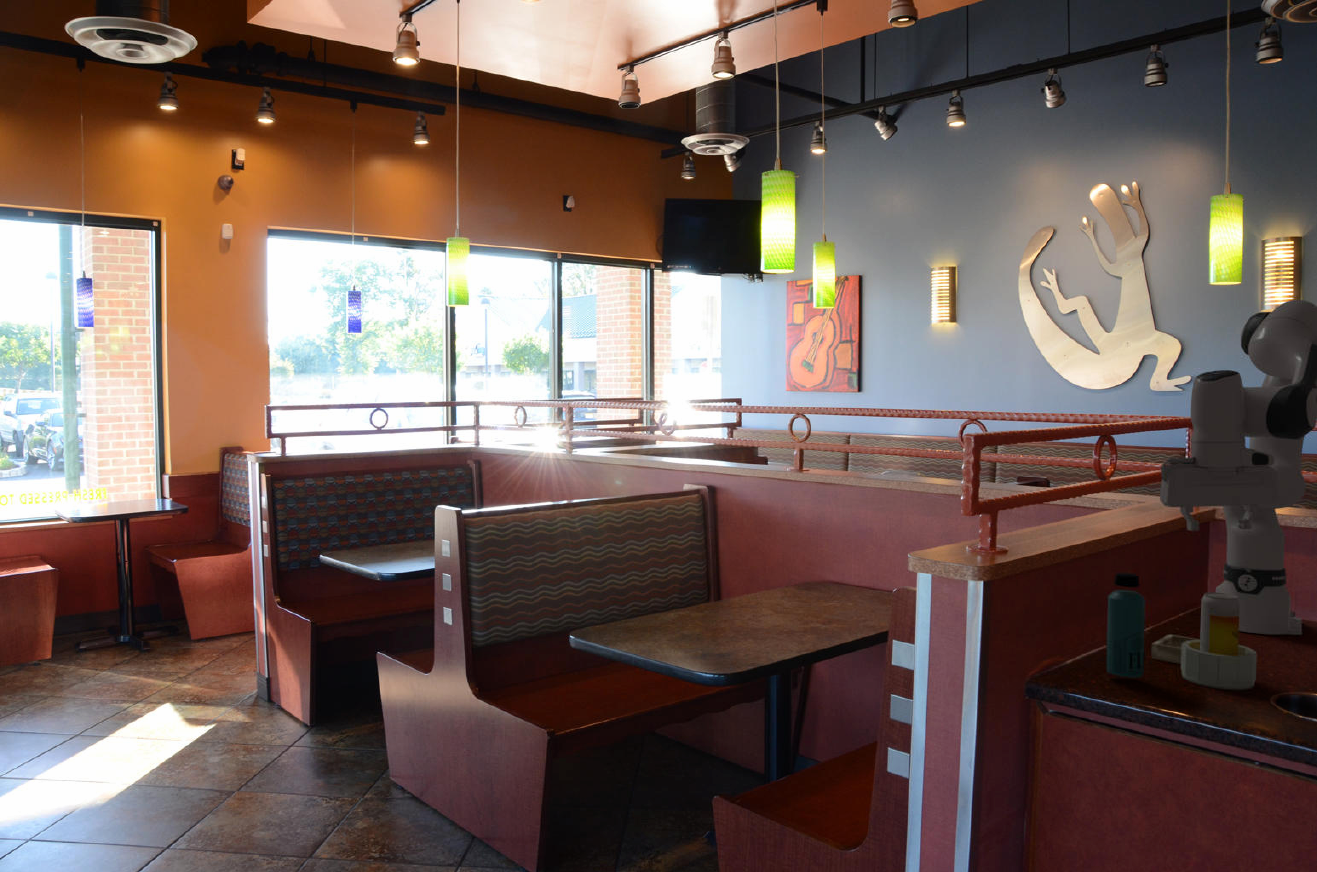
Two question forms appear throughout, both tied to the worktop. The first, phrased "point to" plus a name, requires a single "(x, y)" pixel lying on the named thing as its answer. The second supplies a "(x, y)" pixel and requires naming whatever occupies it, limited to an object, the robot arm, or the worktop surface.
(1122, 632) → the beverage bottle
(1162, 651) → the square beige tray
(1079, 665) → the worktop surface
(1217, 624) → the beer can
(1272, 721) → the worktop surface
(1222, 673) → the cup
